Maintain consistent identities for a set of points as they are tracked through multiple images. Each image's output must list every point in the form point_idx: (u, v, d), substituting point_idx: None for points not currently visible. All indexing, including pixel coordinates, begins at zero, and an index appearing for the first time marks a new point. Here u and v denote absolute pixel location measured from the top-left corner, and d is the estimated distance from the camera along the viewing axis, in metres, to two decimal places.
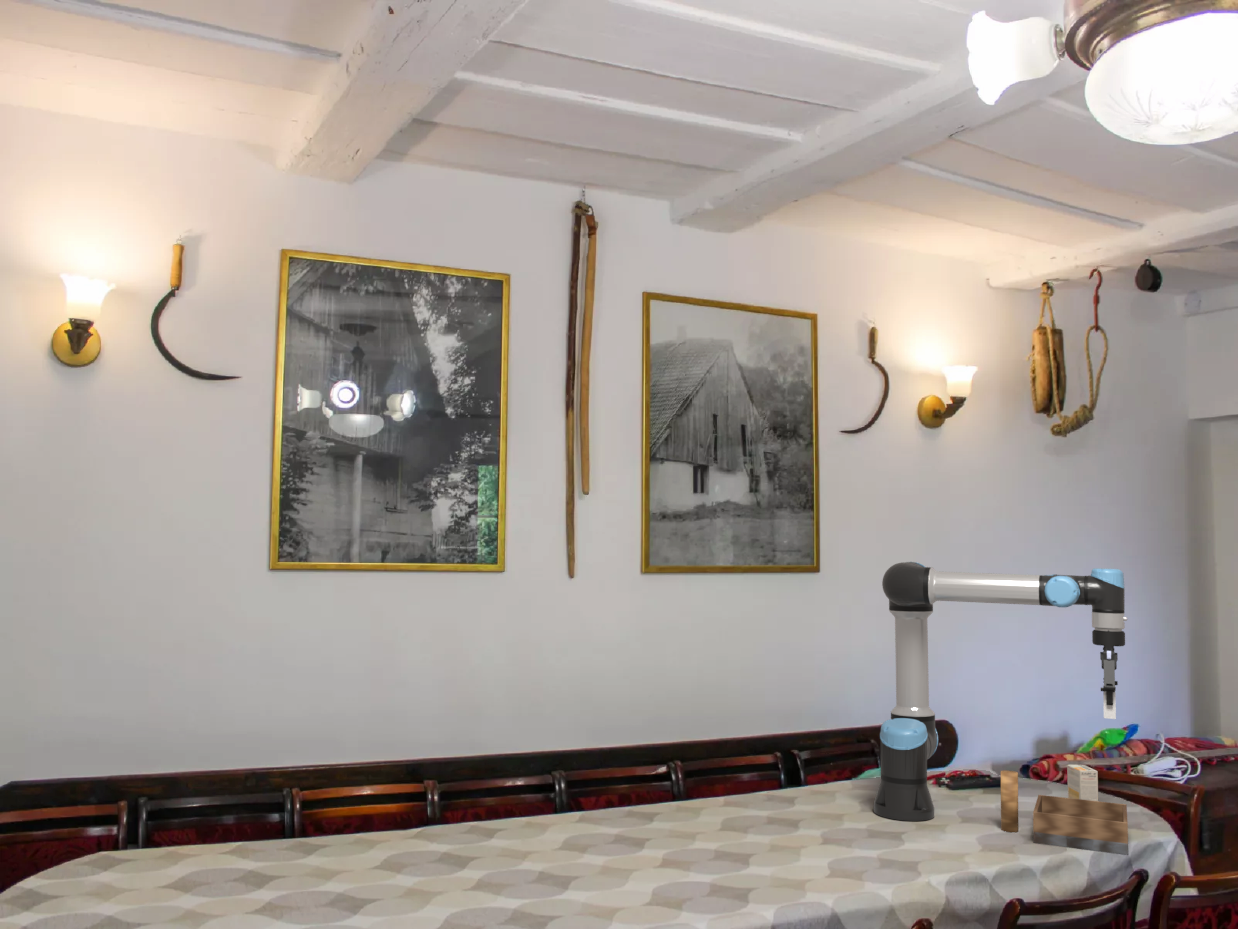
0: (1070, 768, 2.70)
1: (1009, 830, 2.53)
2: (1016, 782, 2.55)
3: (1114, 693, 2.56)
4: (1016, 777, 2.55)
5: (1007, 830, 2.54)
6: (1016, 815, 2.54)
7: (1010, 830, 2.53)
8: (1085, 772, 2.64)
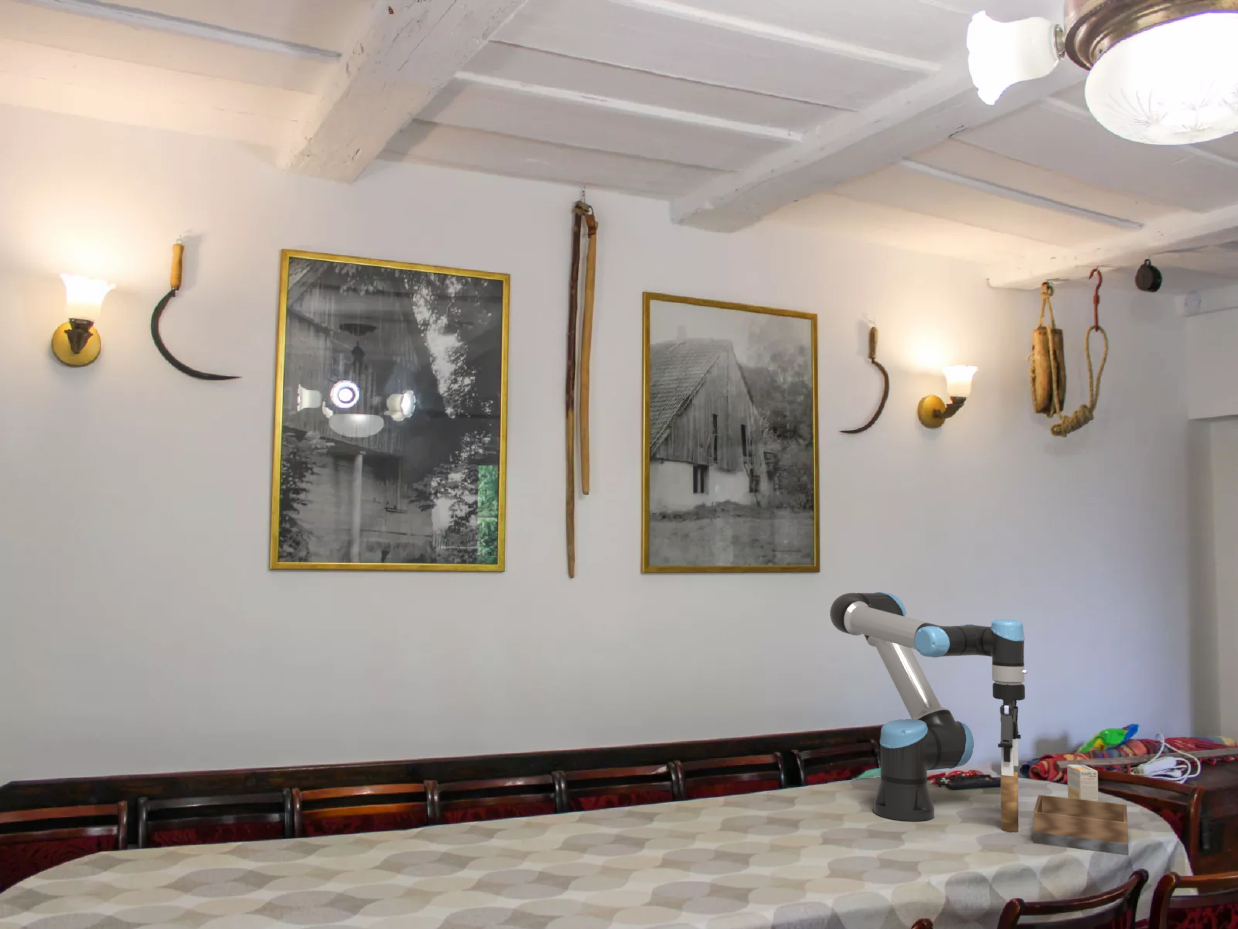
0: (1070, 768, 2.70)
1: (1009, 830, 2.53)
2: (1016, 782, 2.55)
3: (1012, 749, 2.50)
4: (1016, 777, 2.55)
5: (1007, 830, 2.54)
6: (1016, 815, 2.54)
7: (1010, 830, 2.53)
8: (1085, 772, 2.64)
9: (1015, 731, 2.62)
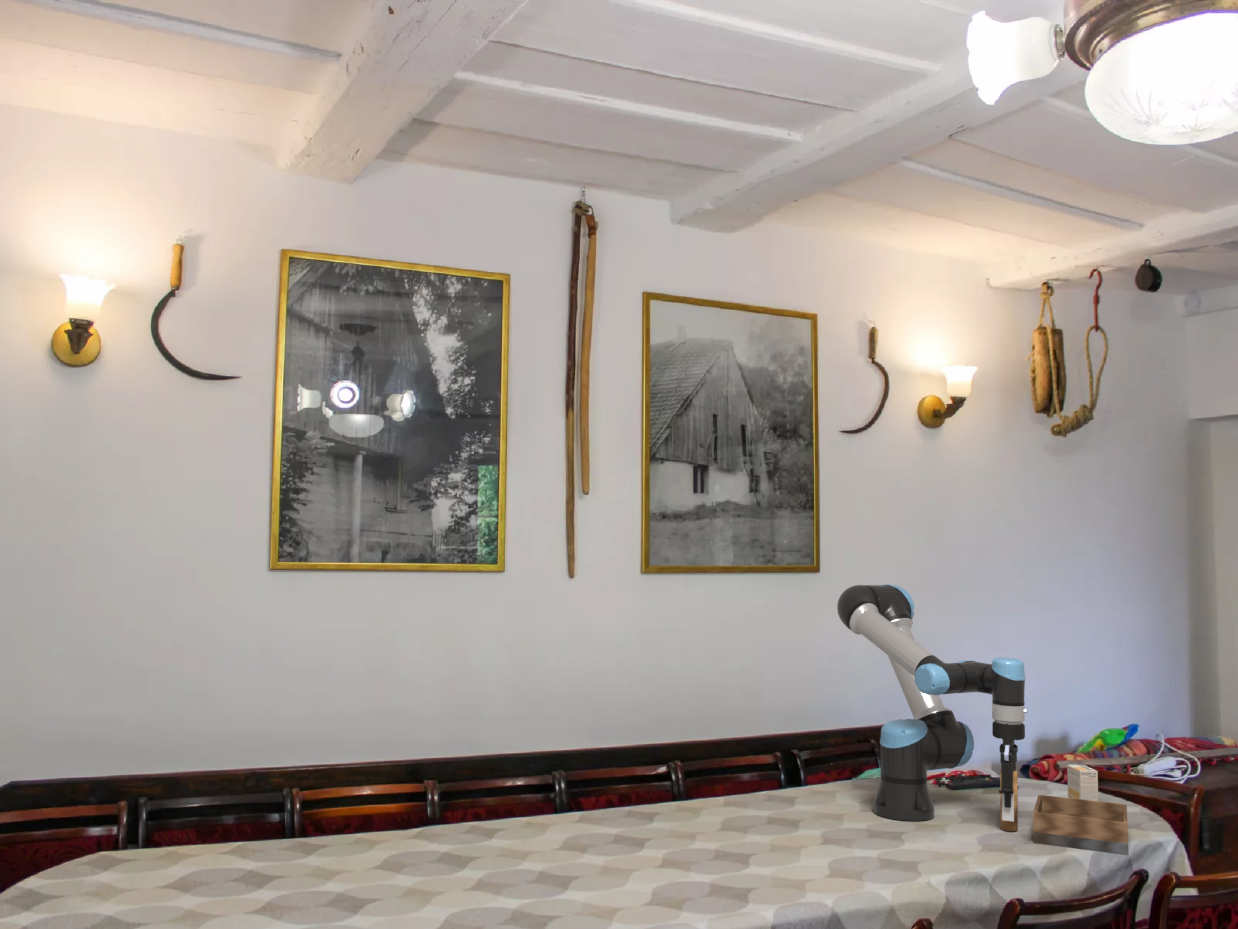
0: (1070, 768, 2.70)
1: (1008, 829, 2.54)
2: (1016, 781, 2.55)
3: (1012, 795, 2.53)
4: (1016, 776, 2.55)
5: (1006, 829, 2.54)
6: (1015, 814, 2.54)
7: (1009, 829, 2.54)
8: (1085, 772, 2.64)
9: None
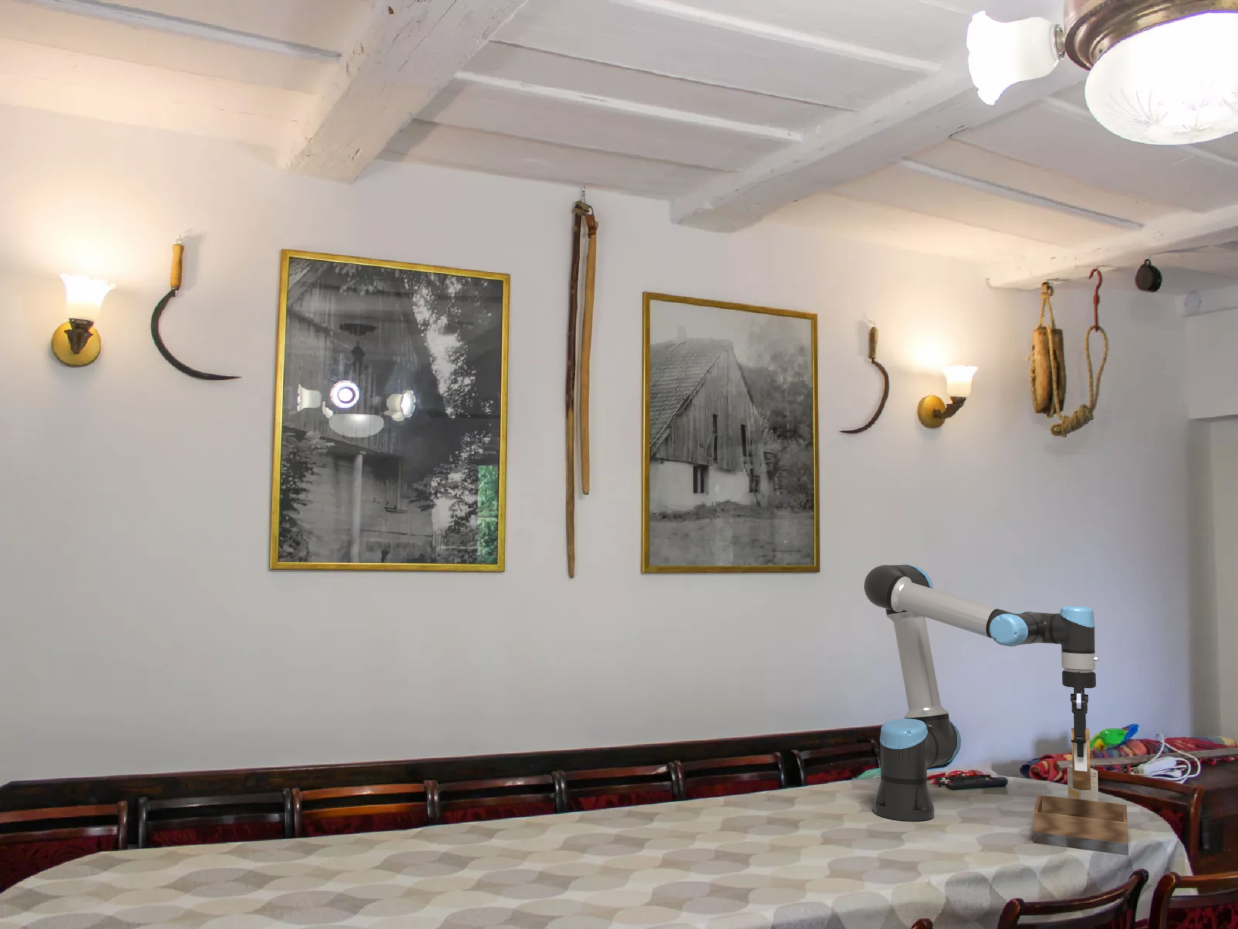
0: (1070, 768, 2.70)
1: (1082, 788, 2.48)
2: (1088, 739, 2.49)
3: (1085, 744, 2.48)
4: (1088, 734, 2.49)
5: (1079, 788, 2.48)
6: (1088, 772, 2.49)
7: (1083, 788, 2.48)
8: None
9: (1084, 727, 2.53)
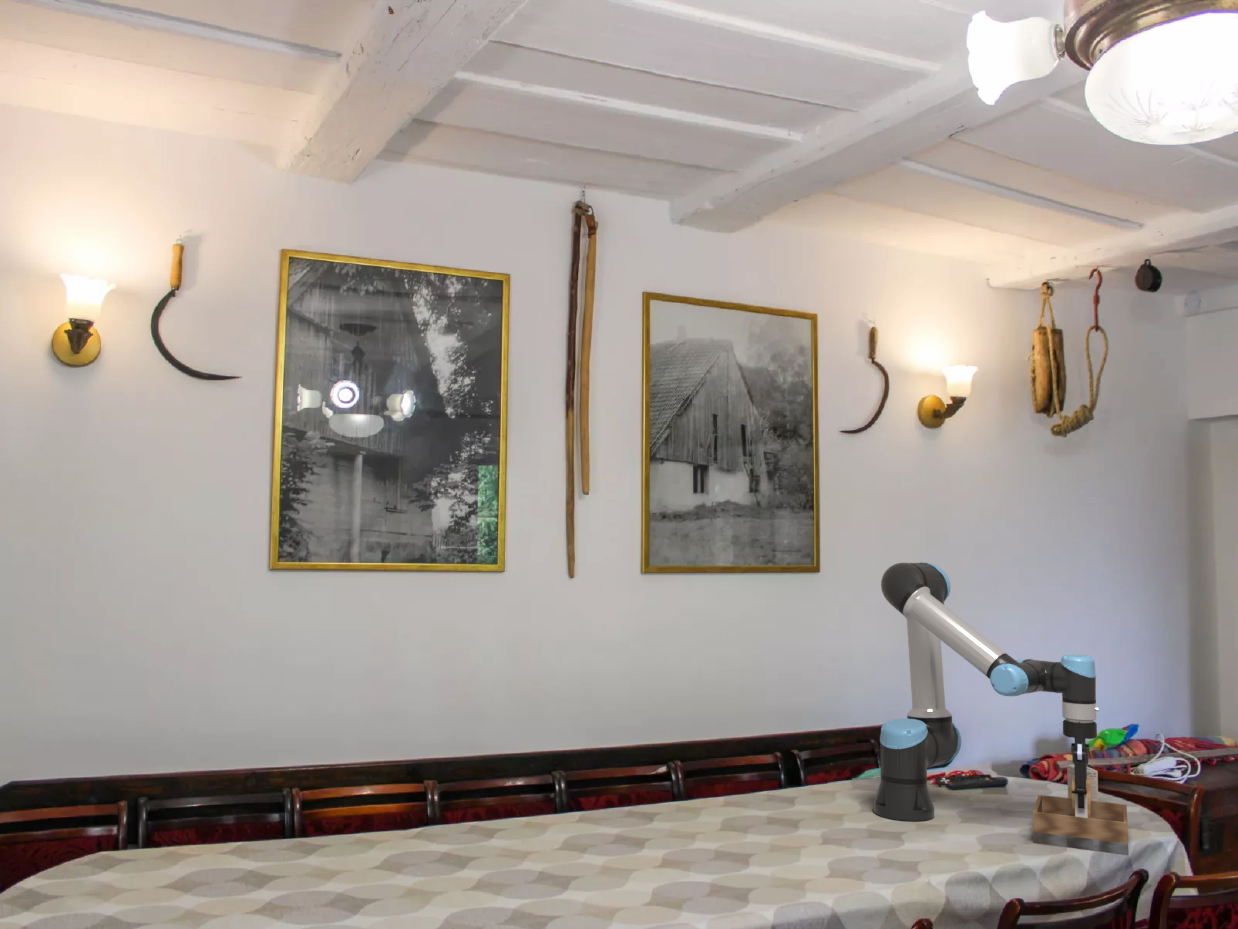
0: (1070, 768, 2.70)
1: None
2: (1089, 789, 2.48)
3: (1086, 795, 2.47)
4: (1089, 784, 2.49)
5: None
6: None
7: None
8: None
9: None
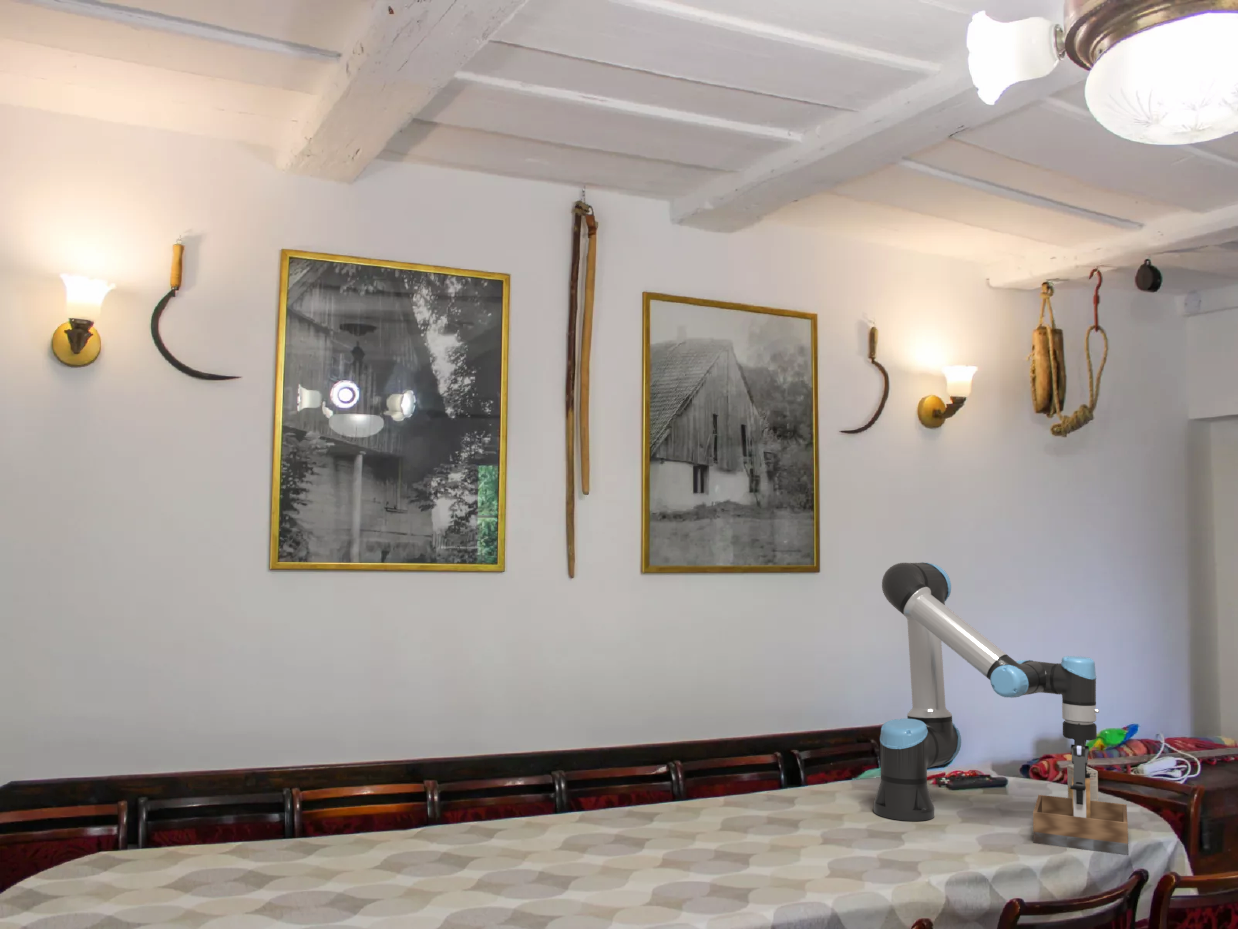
0: (1070, 768, 2.70)
1: None
2: (1088, 789, 2.48)
3: (1084, 791, 2.43)
4: (1088, 784, 2.49)
5: None
6: None
7: None
8: None
9: (1085, 770, 2.55)
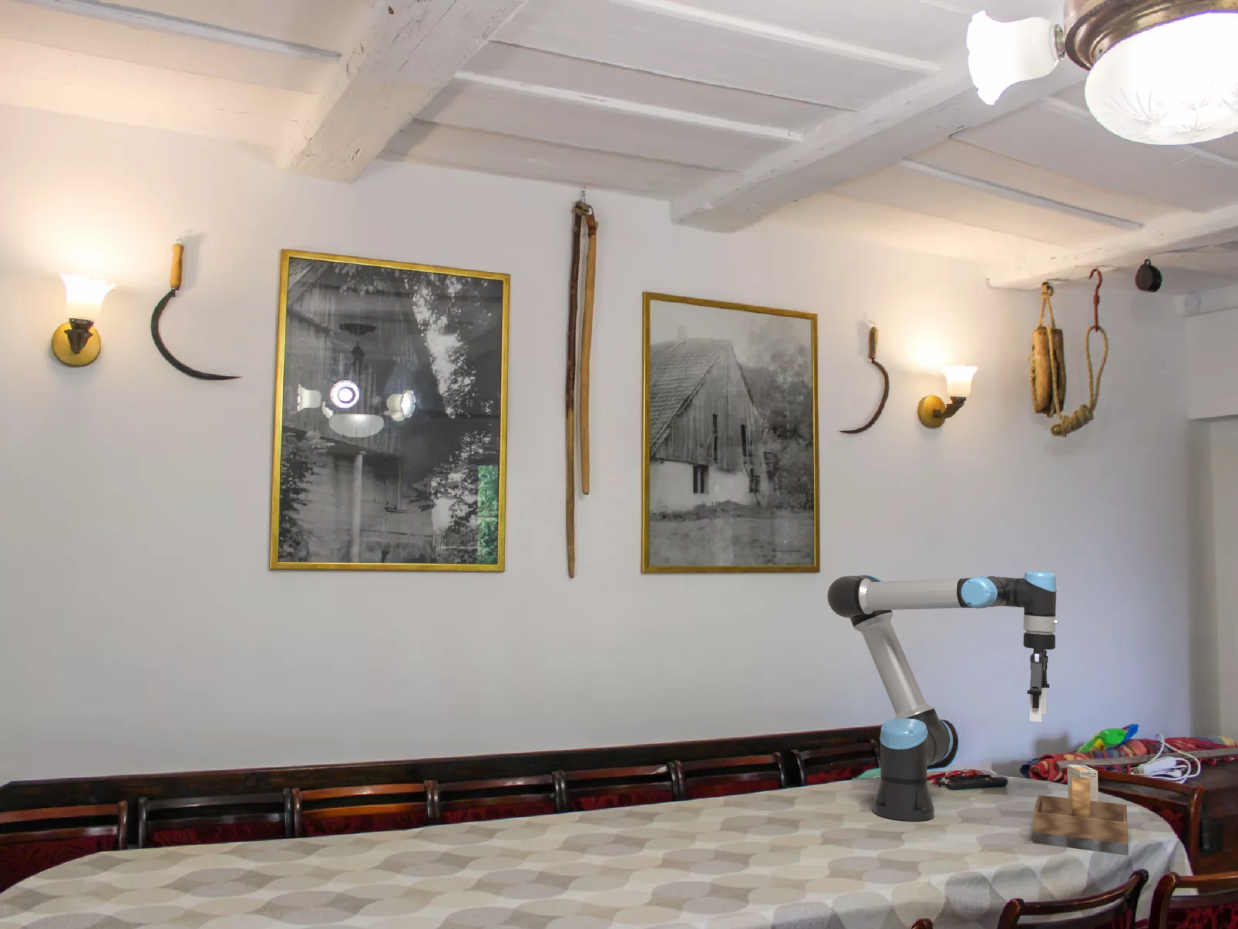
0: (1070, 768, 2.70)
1: None
2: (1088, 789, 2.48)
3: (1040, 696, 2.56)
4: (1088, 784, 2.49)
5: None
6: None
7: None
8: (1085, 772, 2.64)
9: (1044, 680, 2.68)
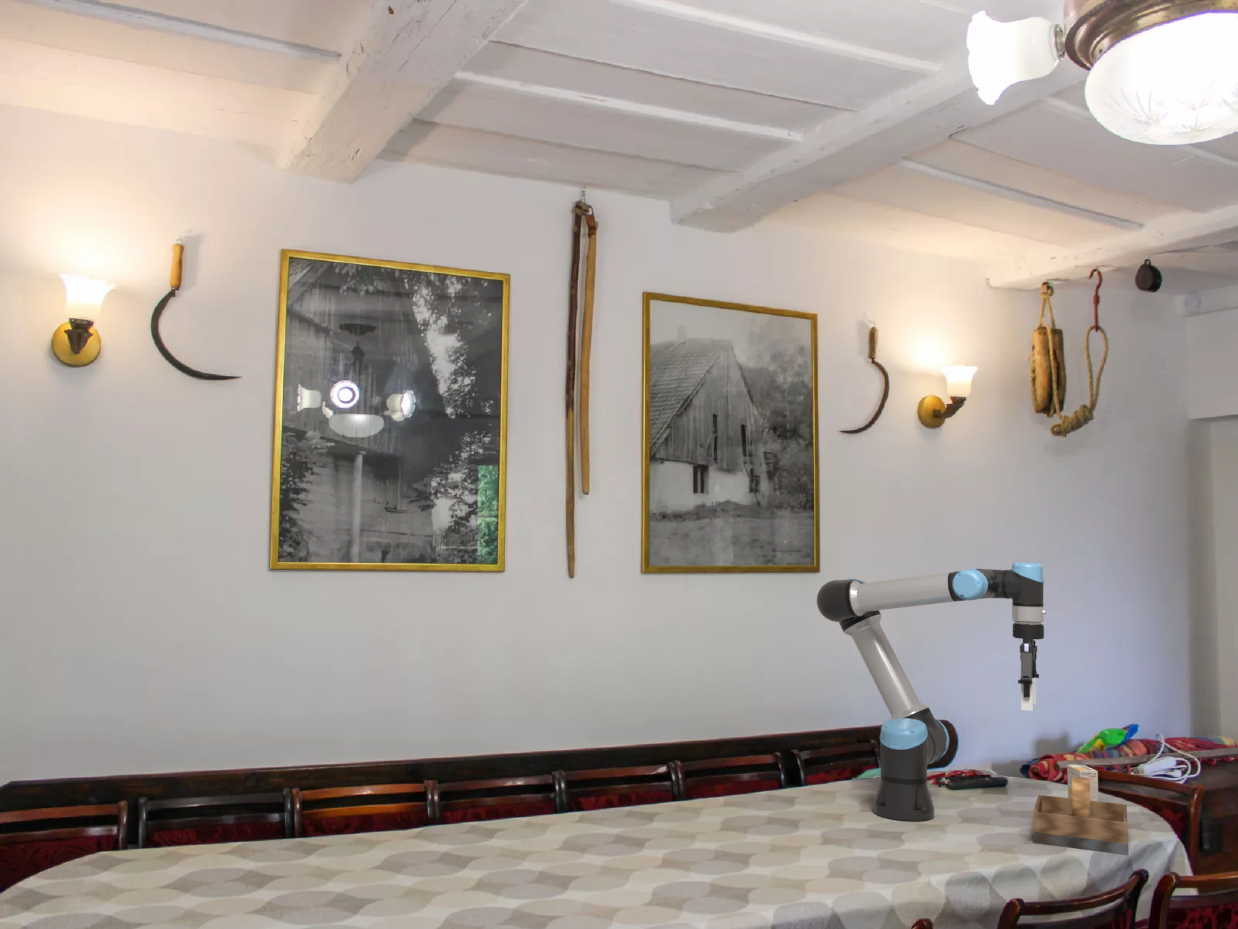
0: (1070, 768, 2.70)
1: None
2: (1088, 789, 2.48)
3: (1031, 685, 2.59)
4: (1088, 784, 2.49)
5: None
6: None
7: None
8: (1085, 772, 2.64)
9: (1034, 670, 2.71)
